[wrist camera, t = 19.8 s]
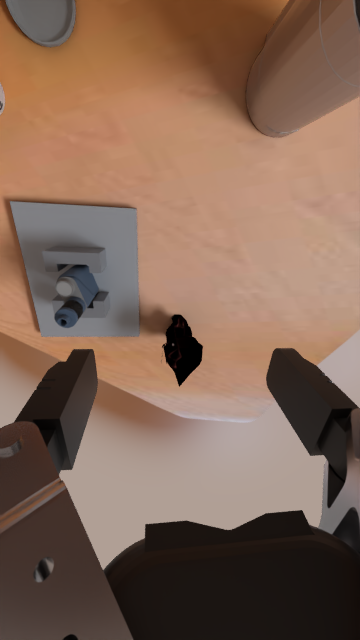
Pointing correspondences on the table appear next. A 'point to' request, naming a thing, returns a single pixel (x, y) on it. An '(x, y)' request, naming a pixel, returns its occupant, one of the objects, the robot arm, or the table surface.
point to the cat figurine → (182, 349)
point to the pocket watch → (44, 19)
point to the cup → (2, 99)
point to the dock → (87, 249)
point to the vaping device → (74, 294)
